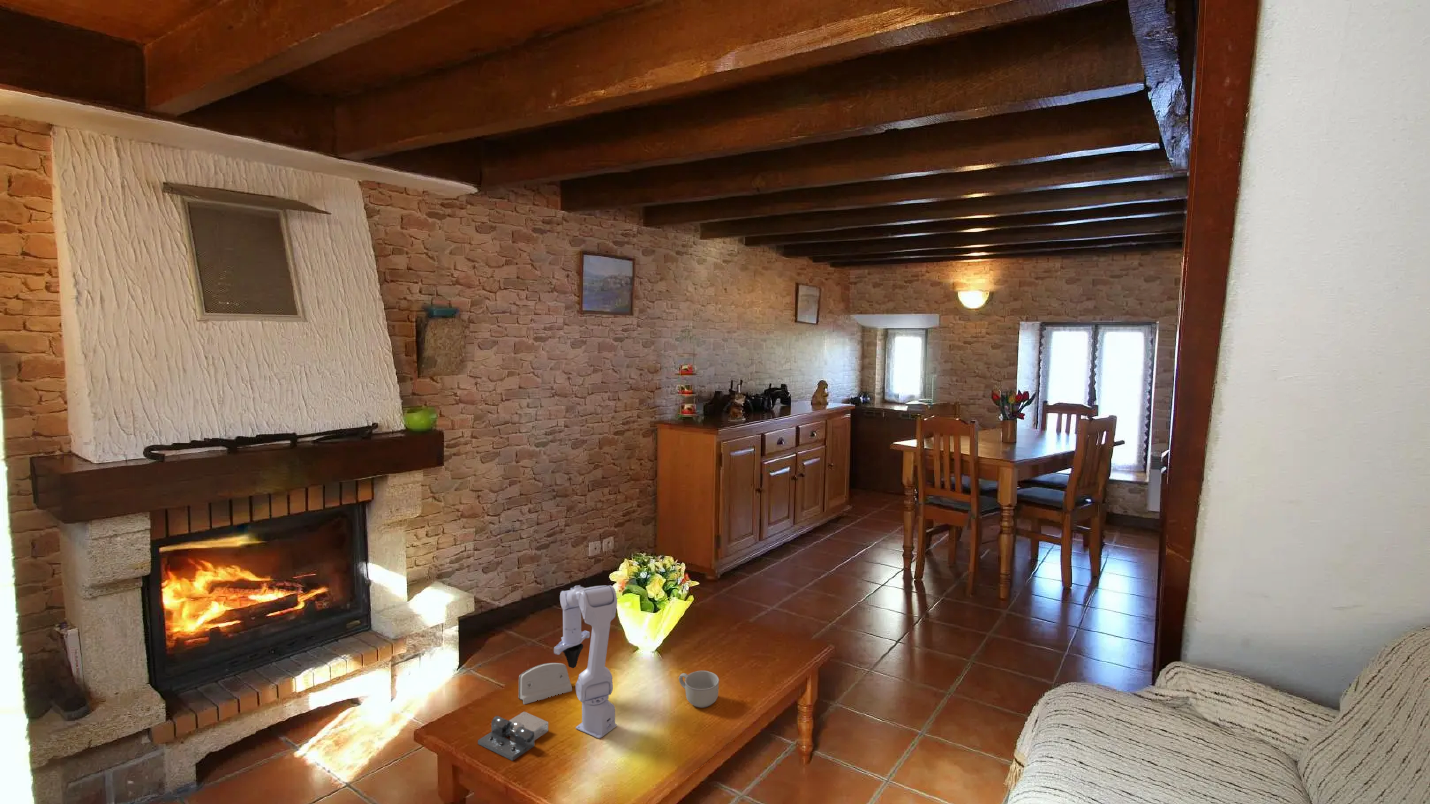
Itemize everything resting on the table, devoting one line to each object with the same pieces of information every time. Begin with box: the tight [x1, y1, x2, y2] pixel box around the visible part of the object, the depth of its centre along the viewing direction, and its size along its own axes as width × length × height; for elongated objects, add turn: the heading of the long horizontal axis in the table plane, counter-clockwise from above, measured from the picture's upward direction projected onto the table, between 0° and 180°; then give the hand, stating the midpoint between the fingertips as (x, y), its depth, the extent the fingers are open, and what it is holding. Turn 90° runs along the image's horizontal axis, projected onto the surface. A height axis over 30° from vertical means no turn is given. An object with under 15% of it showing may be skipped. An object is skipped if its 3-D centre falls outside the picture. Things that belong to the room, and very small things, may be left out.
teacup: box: [678, 670, 720, 709], centre depth 224 cm, size 14×11×8 cm
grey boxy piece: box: [508, 711, 549, 742], centre depth 205 cm, size 10×9×5 cm
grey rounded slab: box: [518, 662, 573, 705], centre depth 228 cm, size 17×5×10 cm, turn 123°
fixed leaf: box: [477, 715, 535, 762], centre depth 199 cm, size 14×8×5 cm, turn 59°
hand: (572, 666), depth 226 cm, fingers closed
